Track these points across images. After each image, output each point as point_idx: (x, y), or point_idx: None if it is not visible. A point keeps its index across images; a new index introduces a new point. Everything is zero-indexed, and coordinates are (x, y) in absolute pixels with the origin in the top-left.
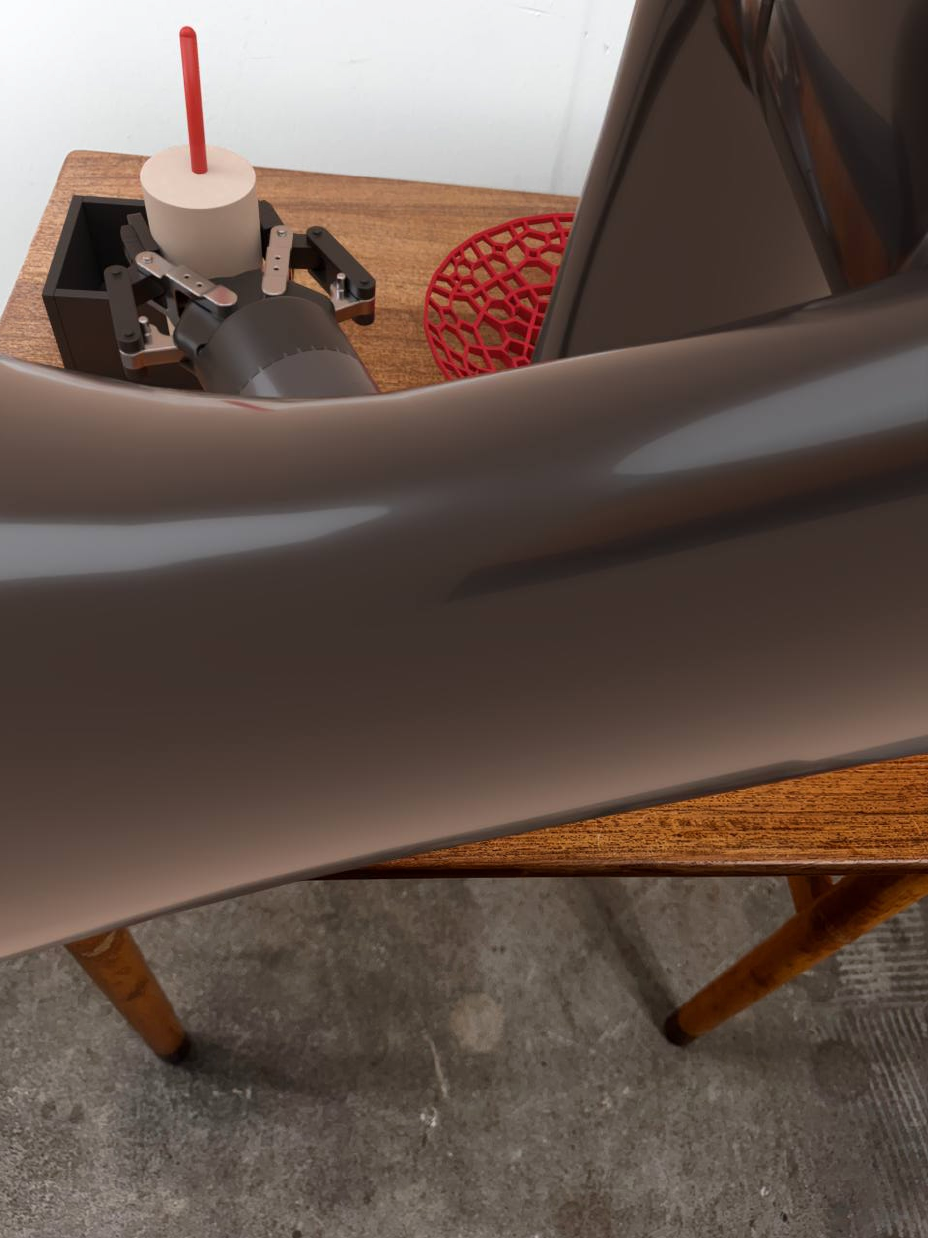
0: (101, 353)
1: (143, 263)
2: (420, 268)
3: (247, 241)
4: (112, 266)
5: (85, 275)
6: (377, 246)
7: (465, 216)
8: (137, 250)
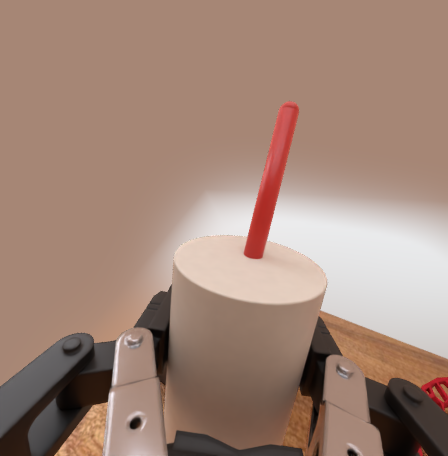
0: (166, 365)
1: (120, 346)
2: (379, 378)
3: (288, 370)
4: (81, 334)
5: None
6: (348, 352)
7: (402, 352)
8: (146, 321)
